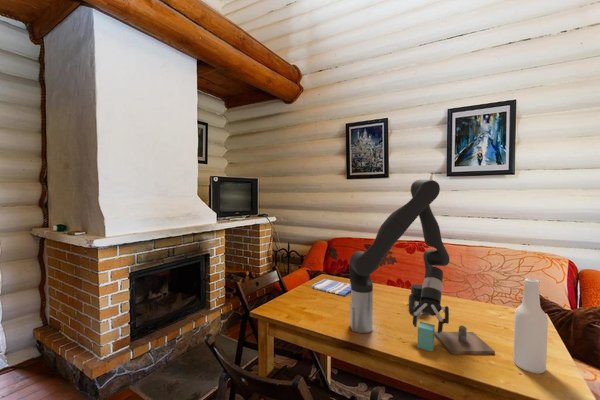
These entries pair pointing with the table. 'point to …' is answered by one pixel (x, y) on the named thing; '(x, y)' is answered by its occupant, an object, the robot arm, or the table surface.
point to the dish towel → (333, 287)
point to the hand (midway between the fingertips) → (426, 329)
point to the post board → (463, 342)
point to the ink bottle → (415, 295)
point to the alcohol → (530, 331)
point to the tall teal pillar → (426, 336)
